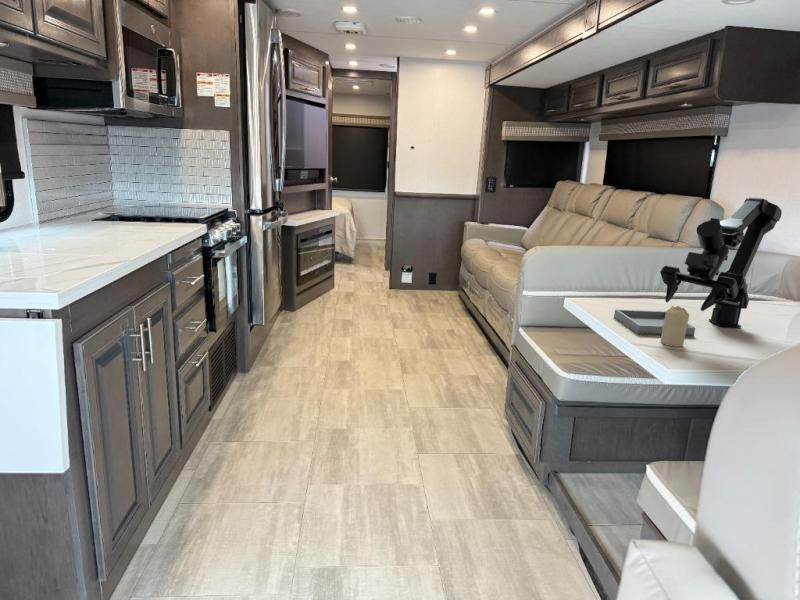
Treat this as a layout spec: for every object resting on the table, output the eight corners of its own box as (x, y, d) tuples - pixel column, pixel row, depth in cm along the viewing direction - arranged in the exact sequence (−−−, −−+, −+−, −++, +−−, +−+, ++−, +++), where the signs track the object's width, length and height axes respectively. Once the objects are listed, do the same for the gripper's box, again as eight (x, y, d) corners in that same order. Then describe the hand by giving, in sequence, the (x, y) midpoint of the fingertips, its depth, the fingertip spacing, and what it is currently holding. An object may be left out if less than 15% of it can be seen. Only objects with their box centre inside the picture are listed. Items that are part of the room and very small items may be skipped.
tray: (664, 319, 169) (666, 311, 168) (693, 336, 153) (695, 327, 153) (613, 317, 168) (615, 309, 167) (637, 334, 153) (639, 325, 152)
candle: (659, 344, 145) (666, 307, 142) (661, 338, 150) (667, 303, 147) (682, 348, 143) (690, 311, 140) (683, 342, 147) (690, 306, 145)
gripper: (669, 236, 151) (642, 279, 147) (743, 247, 137) (716, 295, 133) (677, 262, 158) (652, 304, 154) (749, 275, 144) (722, 321, 140)
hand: (683, 305), depth 145 cm, fingers open, 9 cm apart
